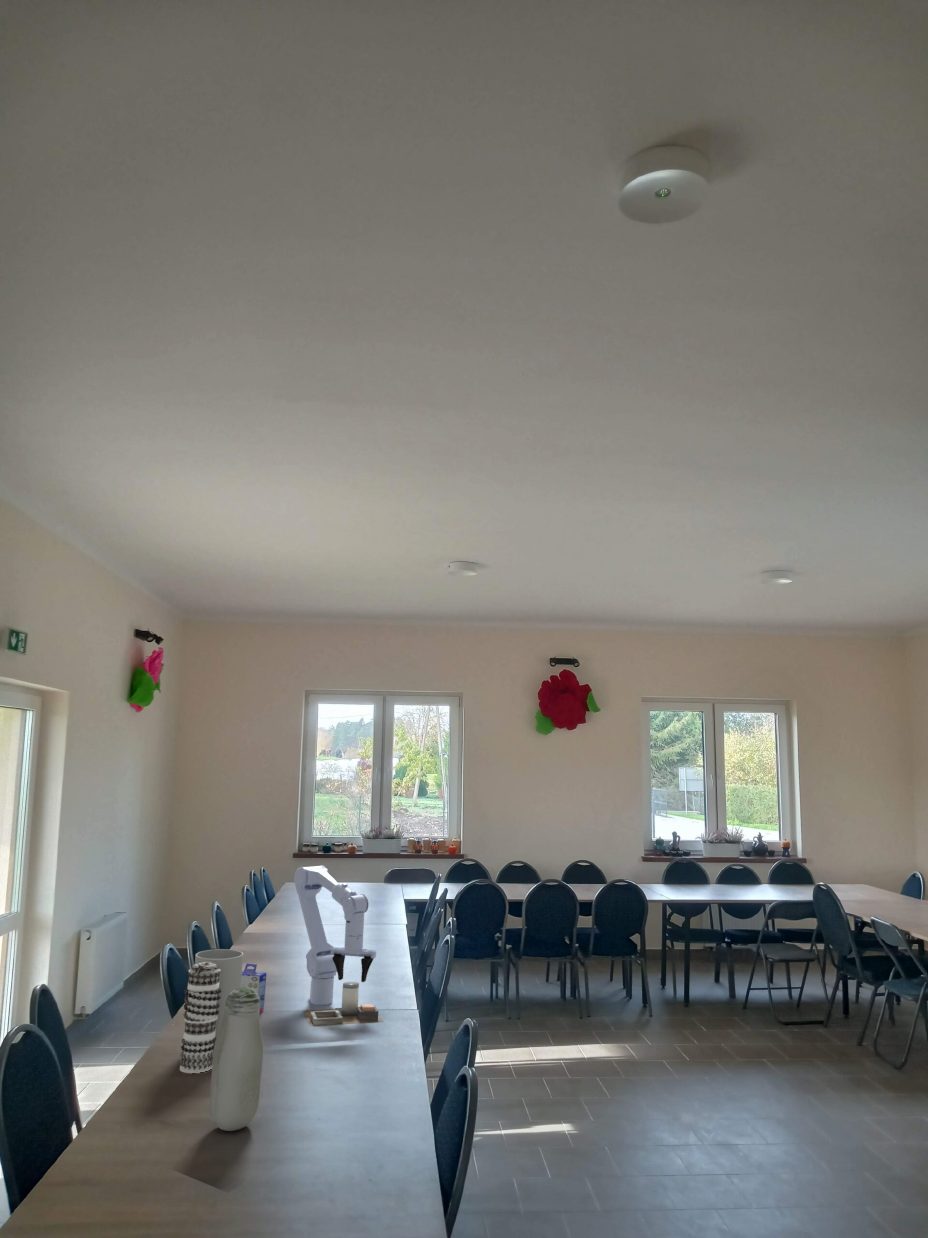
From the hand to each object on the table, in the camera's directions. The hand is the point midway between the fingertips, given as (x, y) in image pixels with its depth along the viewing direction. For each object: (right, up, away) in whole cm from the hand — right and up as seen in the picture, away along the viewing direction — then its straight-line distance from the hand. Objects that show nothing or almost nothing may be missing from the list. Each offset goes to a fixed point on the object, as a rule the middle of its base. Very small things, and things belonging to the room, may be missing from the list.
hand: (352, 980), depth 267 cm
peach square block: (+6, -8, -7) cm, 12 cm away
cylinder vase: (-32, -3, -39) cm, 51 cm away
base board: (-2, -9, -6) cm, 11 cm away
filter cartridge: (-1, -9, -2) cm, 9 cm away
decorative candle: (-33, -1, -51) cm, 61 cm away
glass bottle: (-14, +5, -86) cm, 87 cm away
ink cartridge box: (-32, -9, -4) cm, 34 cm away
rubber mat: (0, -9, -1) cm, 9 cm away
